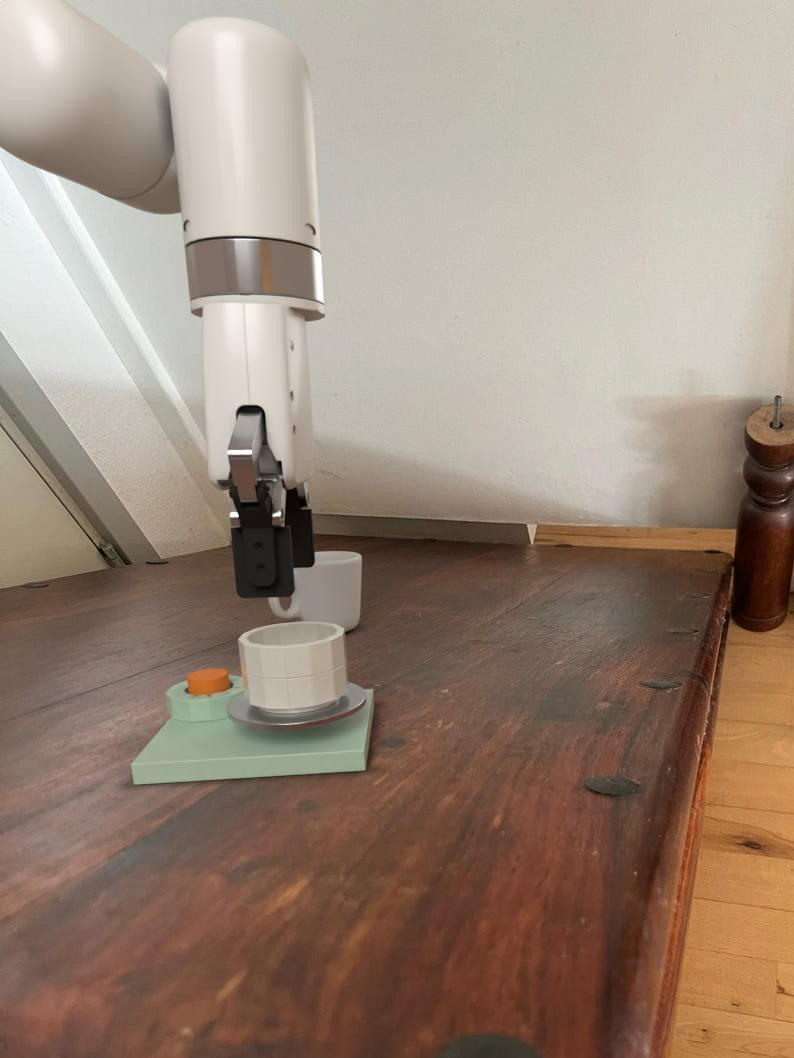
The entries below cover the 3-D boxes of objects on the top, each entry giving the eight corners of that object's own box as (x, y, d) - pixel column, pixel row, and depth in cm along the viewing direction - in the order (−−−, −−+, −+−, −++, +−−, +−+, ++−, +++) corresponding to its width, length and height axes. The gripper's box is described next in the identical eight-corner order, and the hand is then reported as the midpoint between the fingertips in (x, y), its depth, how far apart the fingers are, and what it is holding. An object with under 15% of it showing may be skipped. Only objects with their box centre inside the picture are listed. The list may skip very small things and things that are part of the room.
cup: (297, 650, 76) (289, 569, 73) (253, 637, 81) (245, 562, 79) (381, 628, 83) (377, 554, 81) (336, 618, 88) (331, 548, 86)
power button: (184, 699, 54) (181, 681, 54) (195, 686, 57) (192, 669, 56) (225, 697, 54) (222, 678, 54) (233, 684, 57) (231, 667, 57)
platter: (211, 734, 46) (211, 728, 46) (243, 687, 55) (242, 682, 55) (362, 725, 47) (361, 719, 47) (369, 680, 56) (369, 675, 56)
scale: (127, 785, 47) (120, 739, 46) (185, 714, 59) (179, 677, 58) (365, 771, 48) (362, 725, 47) (374, 704, 60) (372, 667, 59)
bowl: (236, 720, 47) (228, 650, 46) (257, 686, 54) (250, 623, 53) (344, 714, 48) (339, 644, 47) (352, 681, 54) (347, 619, 53)
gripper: (225, 310, 52) (247, 560, 57) (139, 255, 36) (180, 613, 40) (336, 311, 53) (350, 557, 58) (303, 256, 36) (325, 609, 41)
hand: (280, 580), depth 49 cm, fingers open, 9 cm apart
